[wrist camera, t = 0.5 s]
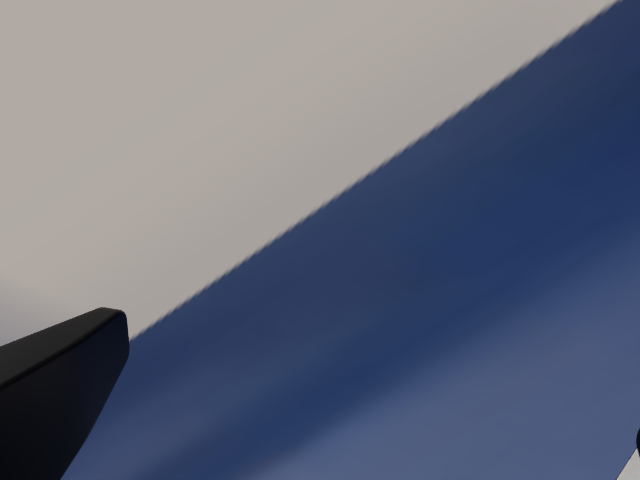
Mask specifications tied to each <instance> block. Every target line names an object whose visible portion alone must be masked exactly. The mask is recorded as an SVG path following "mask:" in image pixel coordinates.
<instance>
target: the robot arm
mask: <svg viewBox="0 0 640 480" xmlns="http://www.w3.org/2000/svg"><path fill="white" fill-rule="evenodd" d="M128 356H129V337H128V327H127V318H126V315H125V313H124V312H123V311H122V310H118V309H111V308H105V307H101V308H97V309H95V310H92V311H90V312H87V313H85V314H82V315H80V316H77V317H75V318H72V319H69V320H67V321H64V322H62V323H59V324H56V325H54V326H51V327H49V328H46V329H44V330H41V331H39V332H36V333H33V334H31V335H28V336H26V337H23V338H21V339H18V340H16V341H13V342H11V343H8V344H5V345H3V346H0V480H60V479H61V478H62V476H63V475H64V473H65V472H66V470H67V469H68V467H69V466H70V464H71V463H72V461H73V459H74V458H75V456H76V455H77V453H78V452H79V450H80V449H81V447H82V445H83V444H84V442H85V440H86V439H87V437H88V435H89V434H90V432H91V430H92V428H93V426H94V425H95V423H96V421H97V419H98V417H99V415H100V413H101V411H102V409H103V407H104V405H105V403H106V401H107V399H108V397H109V395H110V393H111V391H112V389H113V387H114V385H115V383H116V381H117V379H118V378H119V376H120V374H121V372H122V370H123V368H124V366H125V364H126V362H127V359H128ZM636 444H637V450H638V454H639V457H640V429H639V431H638V433H637V438H636Z"/></svg>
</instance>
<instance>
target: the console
mask: <svg viewBox="0 0 640 480" xmlns="http://www.w3.org/2000/svg"><path fill="white" fill-rule="evenodd" d="M617 480H640V457H639V454H638V450H637V449H636V450H635V452H634V453H633V455H632V456H631V458H630V460H629V461H628V463H627V464H626V466H625V467H624V469H623V470H622V472H621V474H620V475H619V477H618V478H617Z"/></svg>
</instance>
